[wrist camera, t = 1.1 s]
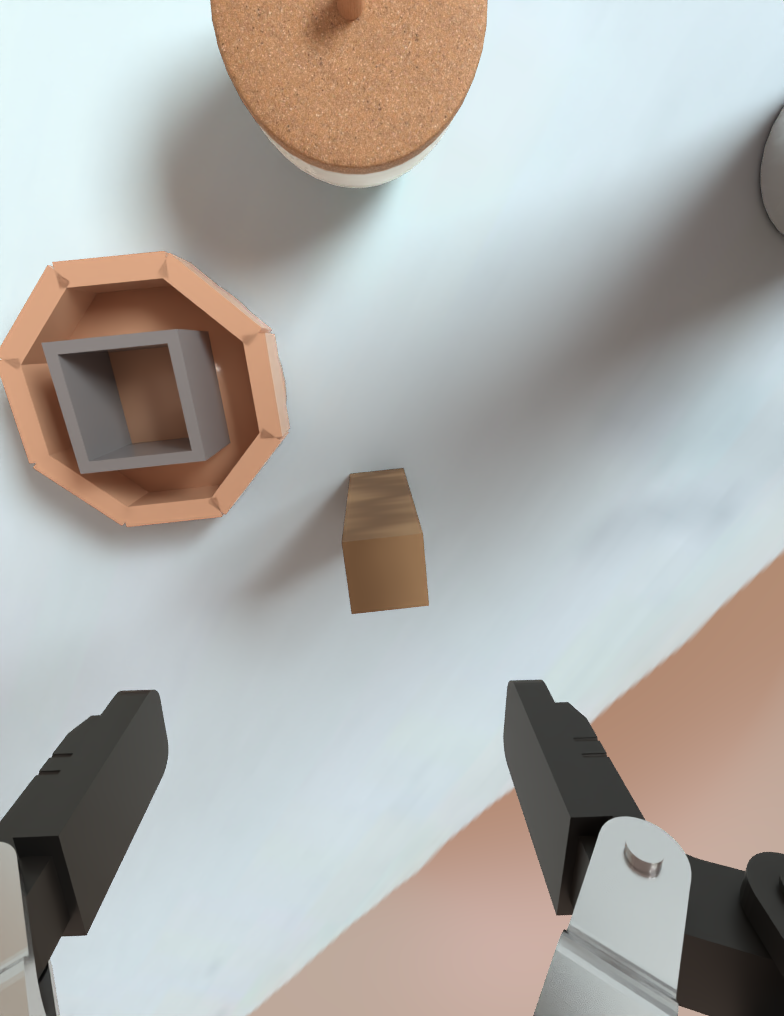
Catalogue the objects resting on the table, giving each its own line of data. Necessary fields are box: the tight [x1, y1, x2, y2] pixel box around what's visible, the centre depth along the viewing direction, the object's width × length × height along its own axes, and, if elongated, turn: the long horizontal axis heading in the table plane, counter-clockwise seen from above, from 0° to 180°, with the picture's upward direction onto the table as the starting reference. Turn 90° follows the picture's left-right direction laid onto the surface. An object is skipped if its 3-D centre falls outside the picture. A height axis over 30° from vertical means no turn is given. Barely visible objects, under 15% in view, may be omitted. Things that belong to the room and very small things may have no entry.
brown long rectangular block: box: [342, 468, 429, 614], centre depth 28 cm, size 4×4×12 cm
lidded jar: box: [210, 0, 487, 188], centre depth 22 cm, size 11×11×9 cm
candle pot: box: [0, 251, 290, 527], centre depth 28 cm, size 14×14×6 cm
